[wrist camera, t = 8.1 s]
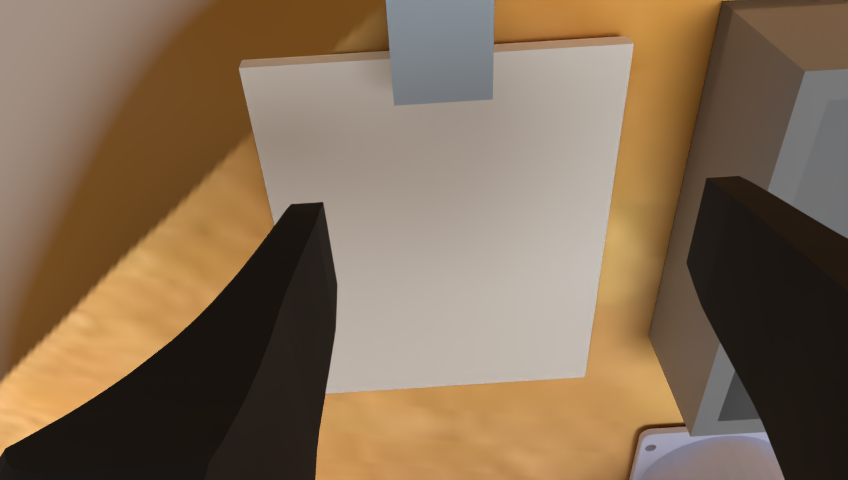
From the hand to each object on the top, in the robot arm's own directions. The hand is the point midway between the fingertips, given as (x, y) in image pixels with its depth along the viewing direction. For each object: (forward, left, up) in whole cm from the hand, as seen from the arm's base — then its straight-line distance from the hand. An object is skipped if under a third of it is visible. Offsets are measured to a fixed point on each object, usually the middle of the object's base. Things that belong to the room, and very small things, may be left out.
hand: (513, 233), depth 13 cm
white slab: (-5, +1, -10) cm, 11 cm away
